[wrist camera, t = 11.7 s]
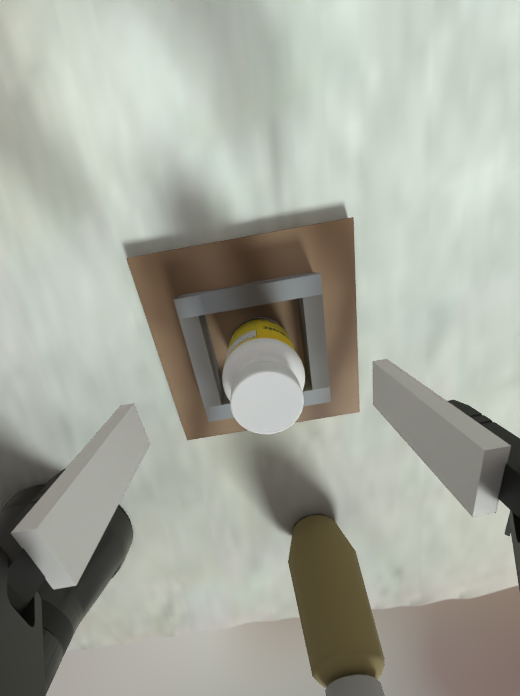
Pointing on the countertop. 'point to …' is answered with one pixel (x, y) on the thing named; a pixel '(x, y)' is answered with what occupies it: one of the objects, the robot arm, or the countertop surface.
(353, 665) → the squeeze bottle
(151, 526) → the countertop surface
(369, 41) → the countertop surface
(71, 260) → the countertop surface
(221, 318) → the socket holder
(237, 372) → the supplement bottle
